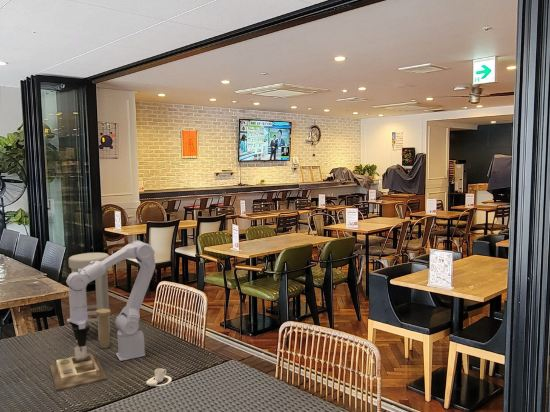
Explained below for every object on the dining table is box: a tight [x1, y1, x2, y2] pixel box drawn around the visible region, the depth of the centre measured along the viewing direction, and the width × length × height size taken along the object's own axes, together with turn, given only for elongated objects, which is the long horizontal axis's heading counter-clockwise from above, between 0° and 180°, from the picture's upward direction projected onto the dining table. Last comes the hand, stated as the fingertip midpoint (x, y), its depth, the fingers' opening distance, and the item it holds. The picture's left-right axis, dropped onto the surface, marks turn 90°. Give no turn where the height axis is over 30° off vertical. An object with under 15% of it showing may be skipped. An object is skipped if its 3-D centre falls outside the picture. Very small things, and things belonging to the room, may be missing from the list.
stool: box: [68, 252, 111, 343], centre depth 205 cm, size 16×16×35 cm
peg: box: [74, 344, 88, 364], centre depth 176 cm, size 4×4×7 cm
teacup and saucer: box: [145, 368, 172, 387], centre depth 164 cm, size 9×8×4 cm
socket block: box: [49, 352, 108, 392], centre depth 171 cm, size 16×22×3 cm
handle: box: [95, 308, 112, 349], centre depth 194 cm, size 5×6×15 cm
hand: (80, 342), depth 175 cm, fingers open, 7 cm apart
